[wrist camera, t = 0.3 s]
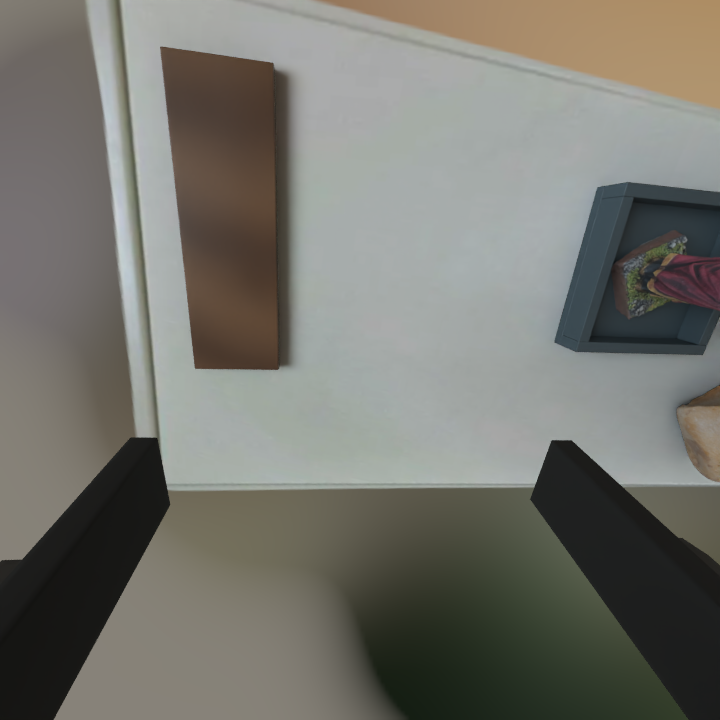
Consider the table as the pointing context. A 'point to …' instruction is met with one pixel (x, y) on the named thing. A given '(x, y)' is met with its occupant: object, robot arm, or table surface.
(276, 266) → the board
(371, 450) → the table surface
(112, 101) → the table surface
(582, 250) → the dark grey square tray
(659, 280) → the figurine
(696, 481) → the table surface
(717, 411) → the stone
